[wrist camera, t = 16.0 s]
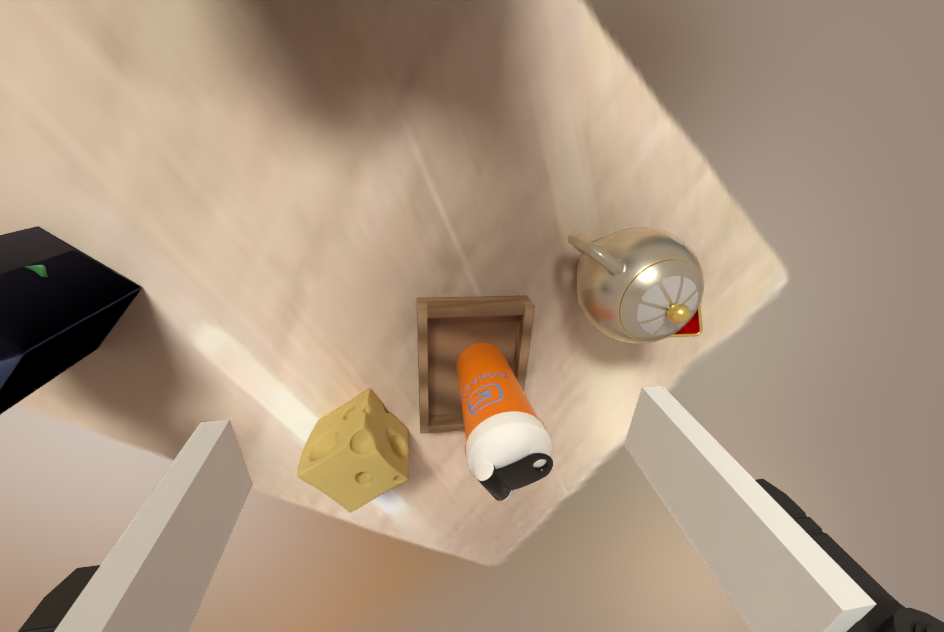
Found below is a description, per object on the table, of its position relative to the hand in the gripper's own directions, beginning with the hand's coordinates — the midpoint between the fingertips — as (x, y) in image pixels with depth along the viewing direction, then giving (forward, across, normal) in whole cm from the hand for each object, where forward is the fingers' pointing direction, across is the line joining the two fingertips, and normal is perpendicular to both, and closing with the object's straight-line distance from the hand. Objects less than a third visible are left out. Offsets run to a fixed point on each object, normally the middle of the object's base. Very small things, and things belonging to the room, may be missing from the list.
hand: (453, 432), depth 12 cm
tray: (+35, +7, -21) cm, 41 cm away
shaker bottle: (+34, +8, -21) cm, 41 cm away
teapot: (+36, +24, -6) cm, 43 cm away
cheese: (+35, -10, -32) cm, 48 cm away
